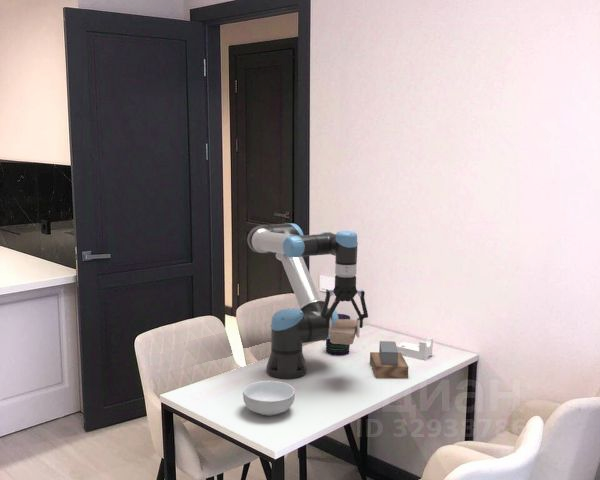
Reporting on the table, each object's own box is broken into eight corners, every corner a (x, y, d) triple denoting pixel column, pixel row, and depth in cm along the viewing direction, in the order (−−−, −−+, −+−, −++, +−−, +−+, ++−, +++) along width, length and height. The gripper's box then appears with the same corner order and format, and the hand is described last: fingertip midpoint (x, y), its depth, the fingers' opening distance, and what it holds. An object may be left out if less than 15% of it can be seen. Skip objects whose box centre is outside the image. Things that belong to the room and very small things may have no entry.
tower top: (381, 364, 244) (381, 351, 243) (379, 353, 257) (379, 341, 256) (397, 365, 244) (398, 352, 243) (394, 353, 257) (395, 341, 256)
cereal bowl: (233, 407, 215) (233, 386, 214) (276, 396, 224) (276, 376, 223) (260, 426, 201) (260, 404, 200) (304, 414, 211) (305, 393, 210)
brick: (353, 345, 227) (353, 332, 226) (329, 343, 228) (329, 330, 228) (357, 331, 243) (358, 319, 242) (335, 330, 245) (335, 318, 244)
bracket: (432, 356, 269) (432, 338, 268) (424, 361, 263) (425, 342, 262) (403, 350, 276) (404, 332, 275) (395, 354, 271) (396, 336, 269)
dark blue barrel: (320, 352, 271) (321, 317, 269) (335, 346, 278) (336, 312, 276) (340, 357, 265) (341, 321, 262) (354, 351, 272) (355, 316, 270)
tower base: (375, 379, 243) (376, 366, 242) (369, 364, 259) (370, 352, 258) (407, 379, 243) (408, 366, 243) (400, 364, 259) (400, 352, 258)
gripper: (315, 277, 227) (314, 339, 231) (378, 277, 229) (376, 339, 232) (313, 272, 235) (312, 333, 238) (374, 273, 236) (372, 333, 240)
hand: (343, 336), depth 235 cm, fingers closed on brick, 9 cm apart
